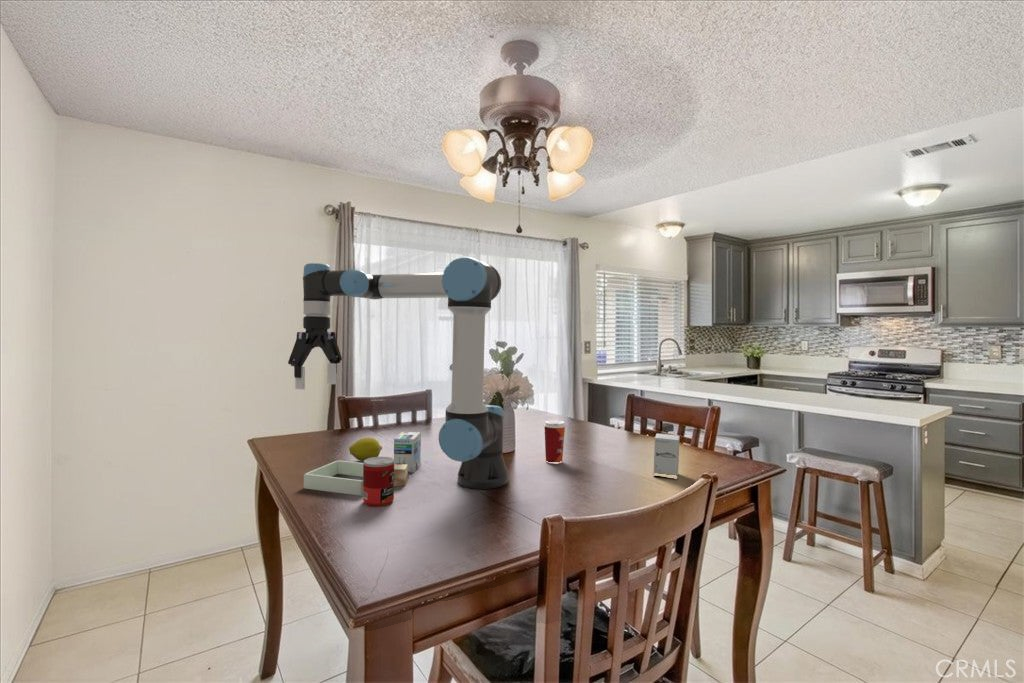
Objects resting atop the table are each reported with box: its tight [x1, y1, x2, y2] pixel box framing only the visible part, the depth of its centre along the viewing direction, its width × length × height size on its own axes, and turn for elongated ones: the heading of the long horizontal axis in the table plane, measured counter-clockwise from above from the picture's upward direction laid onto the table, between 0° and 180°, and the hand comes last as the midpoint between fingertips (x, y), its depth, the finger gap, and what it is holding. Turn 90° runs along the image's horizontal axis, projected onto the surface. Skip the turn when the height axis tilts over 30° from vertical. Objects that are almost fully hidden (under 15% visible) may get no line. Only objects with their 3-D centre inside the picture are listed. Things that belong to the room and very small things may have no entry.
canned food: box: [362, 456, 395, 508], centre depth 127 cm, size 8×8×11 cm
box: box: [303, 460, 364, 497], centre depth 141 cm, size 19×15×4 cm
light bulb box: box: [393, 431, 422, 473], centre depth 158 cm, size 11×7×11 cm, turn 179°
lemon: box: [348, 437, 383, 462], centre depth 165 cm, size 11×8×8 cm
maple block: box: [394, 464, 409, 487], centre depth 142 cm, size 5×5×5 cm
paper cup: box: [543, 419, 566, 462], centre depth 167 cm, size 8×8×14 cm
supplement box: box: [653, 433, 681, 476], centre depth 154 cm, size 7×7×13 cm
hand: (316, 386), depth 145 cm, fingers open, 13 cm apart
